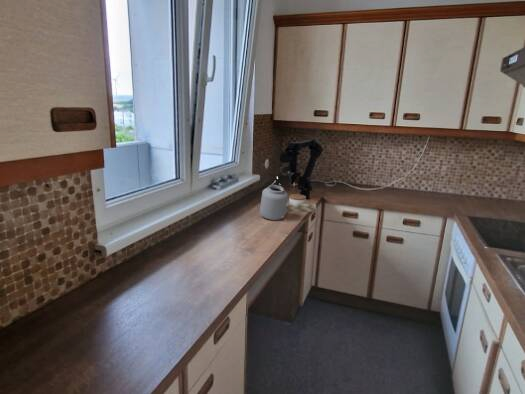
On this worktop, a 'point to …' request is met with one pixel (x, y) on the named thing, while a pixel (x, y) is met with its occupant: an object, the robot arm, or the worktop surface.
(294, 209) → the board
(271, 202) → the jar
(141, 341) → the worktop surface
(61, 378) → the worktop surface
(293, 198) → the lidded jar
